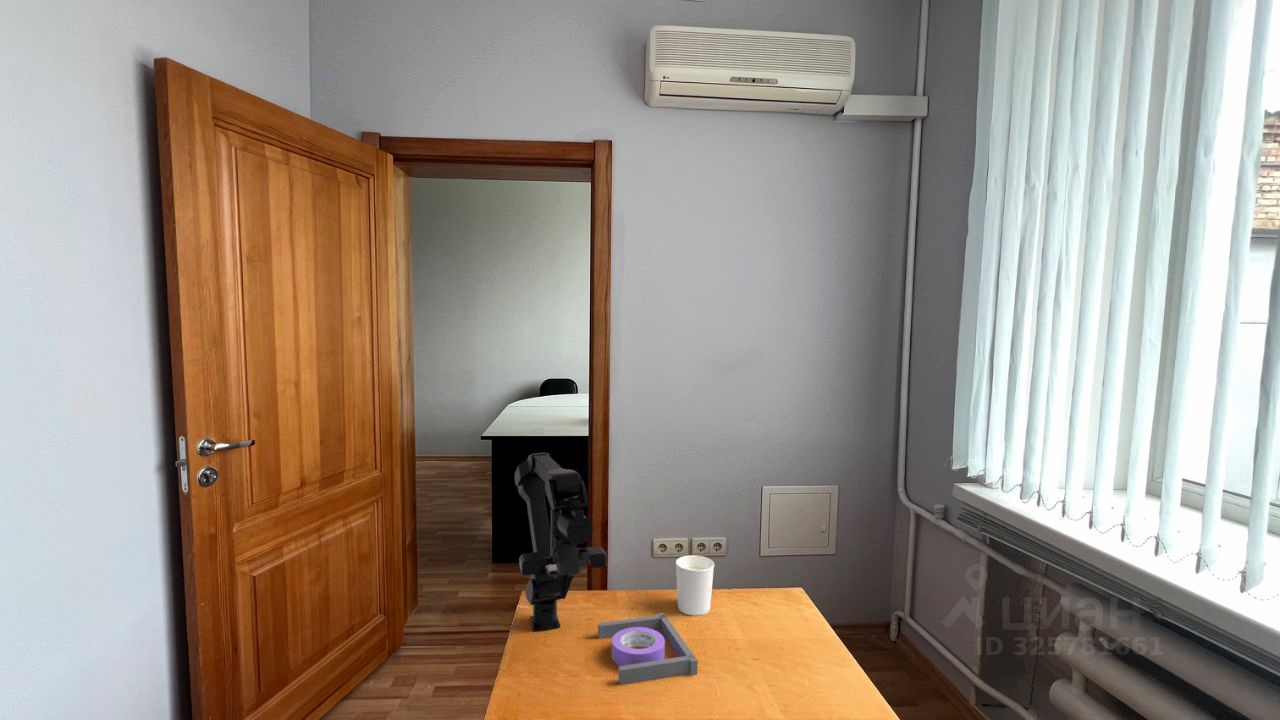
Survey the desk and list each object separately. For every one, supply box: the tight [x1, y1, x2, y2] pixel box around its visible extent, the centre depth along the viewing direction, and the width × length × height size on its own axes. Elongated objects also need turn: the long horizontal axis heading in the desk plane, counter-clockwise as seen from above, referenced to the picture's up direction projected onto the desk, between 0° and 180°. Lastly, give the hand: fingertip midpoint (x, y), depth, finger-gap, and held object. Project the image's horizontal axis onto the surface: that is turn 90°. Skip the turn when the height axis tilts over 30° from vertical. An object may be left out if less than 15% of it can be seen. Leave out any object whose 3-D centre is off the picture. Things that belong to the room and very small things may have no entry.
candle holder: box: [675, 555, 715, 616], centre depth 158 cm, size 10×10×12 cm
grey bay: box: [597, 612, 699, 686], centre depth 136 cm, size 22×16×3 cm
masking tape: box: [611, 627, 666, 667], centre depth 136 cm, size 12×12×4 cm
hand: (563, 597), depth 136 cm, fingers closed
